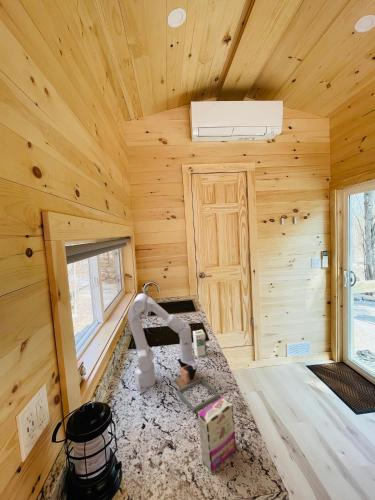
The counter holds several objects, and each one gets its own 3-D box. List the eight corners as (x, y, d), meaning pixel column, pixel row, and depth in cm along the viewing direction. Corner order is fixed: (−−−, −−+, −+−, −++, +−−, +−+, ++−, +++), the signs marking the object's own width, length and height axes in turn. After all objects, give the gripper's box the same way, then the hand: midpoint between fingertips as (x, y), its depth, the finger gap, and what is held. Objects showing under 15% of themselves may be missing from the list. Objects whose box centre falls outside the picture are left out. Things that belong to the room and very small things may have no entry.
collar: (186, 383, 109) (186, 373, 108) (181, 377, 114) (180, 368, 113) (199, 377, 113) (198, 367, 112) (192, 372, 117) (192, 362, 117)
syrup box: (197, 359, 130) (195, 335, 129) (194, 354, 136) (192, 330, 134) (207, 357, 132) (205, 333, 130) (203, 352, 137) (201, 328, 136)
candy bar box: (225, 439, 81) (222, 395, 79) (236, 450, 76) (233, 404, 75) (200, 460, 74) (197, 413, 72) (211, 473, 70) (207, 423, 68)
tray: (193, 415, 92) (193, 409, 92) (176, 395, 103) (176, 390, 103) (219, 399, 99) (219, 394, 99) (201, 382, 110) (201, 378, 110)
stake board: (180, 390, 106) (179, 379, 106) (172, 382, 112) (171, 371, 112) (198, 381, 111) (197, 370, 111) (190, 374, 117) (189, 363, 117)
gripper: (201, 352, 107) (204, 380, 109) (185, 341, 120) (187, 365, 121) (189, 358, 104) (191, 386, 105) (173, 345, 116) (175, 371, 117)
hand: (188, 375), depth 113 cm, fingers open, 6 cm apart
